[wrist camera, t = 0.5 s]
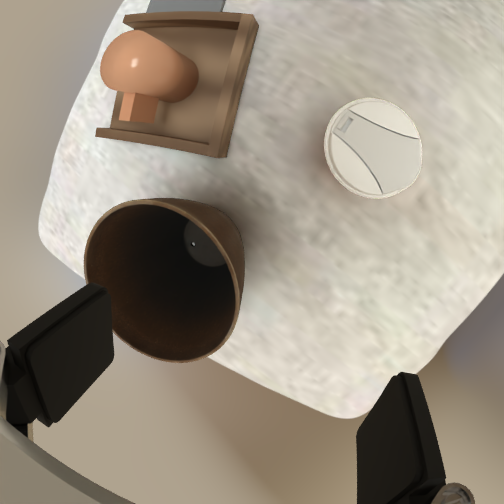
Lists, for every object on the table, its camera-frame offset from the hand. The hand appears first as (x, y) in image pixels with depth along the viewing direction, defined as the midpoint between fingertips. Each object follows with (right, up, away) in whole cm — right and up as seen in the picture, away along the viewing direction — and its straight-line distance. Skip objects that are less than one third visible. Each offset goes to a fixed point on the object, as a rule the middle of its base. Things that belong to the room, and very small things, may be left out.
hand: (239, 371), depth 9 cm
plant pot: (-5, +6, +30) cm, 31 cm away
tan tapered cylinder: (-9, +24, +24) cm, 35 cm away
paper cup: (+12, +15, +23) cm, 30 cm away
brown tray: (-9, +25, +24) cm, 36 cm away
